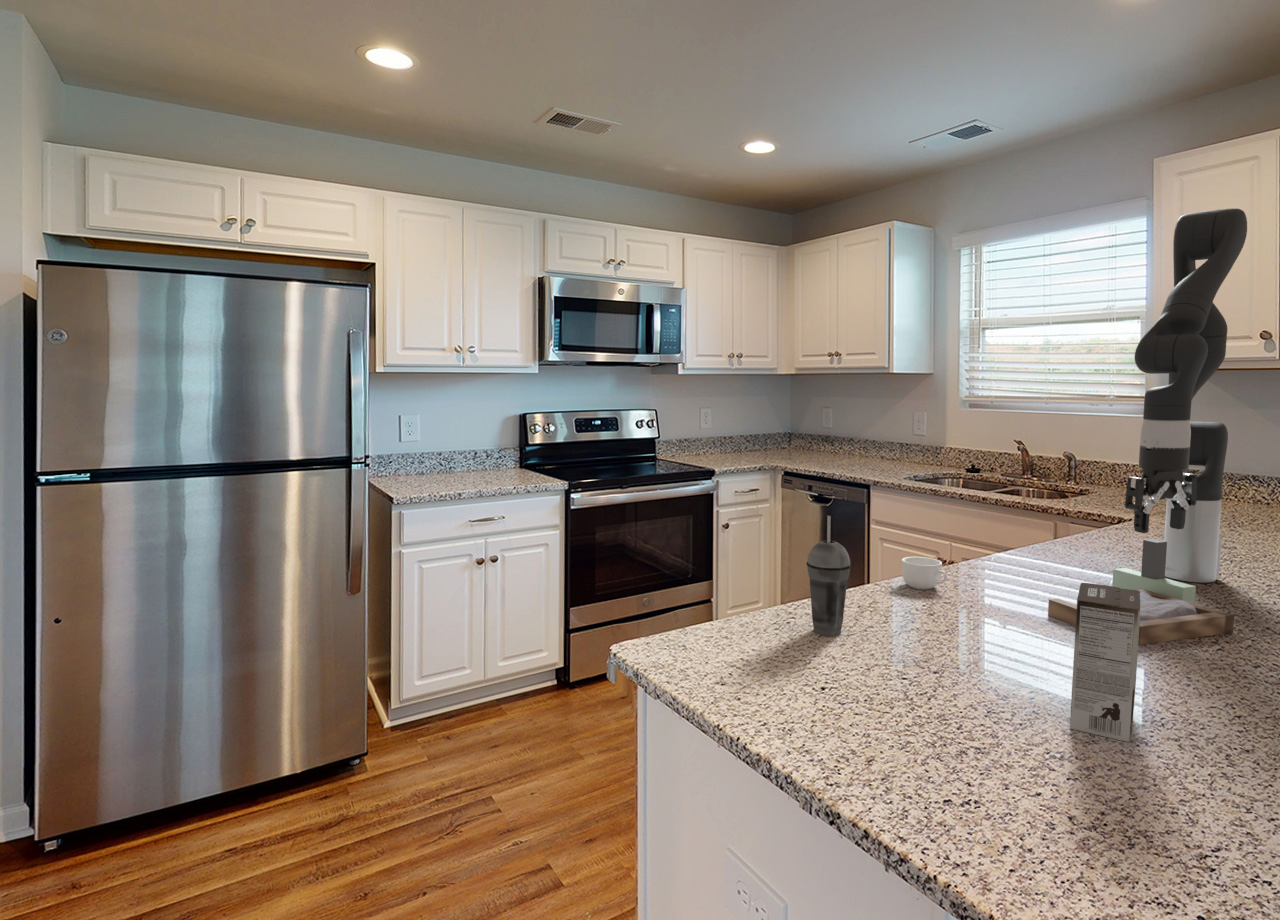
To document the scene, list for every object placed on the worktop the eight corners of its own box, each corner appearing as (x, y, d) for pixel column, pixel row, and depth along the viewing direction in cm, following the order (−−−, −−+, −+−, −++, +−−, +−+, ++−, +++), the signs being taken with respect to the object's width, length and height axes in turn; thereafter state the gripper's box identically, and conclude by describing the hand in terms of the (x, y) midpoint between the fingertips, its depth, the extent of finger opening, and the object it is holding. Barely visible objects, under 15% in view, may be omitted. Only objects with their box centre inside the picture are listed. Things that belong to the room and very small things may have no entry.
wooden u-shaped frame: (1142, 604, 136) (1143, 589, 136) (1232, 632, 121) (1234, 614, 121) (1047, 615, 130) (1048, 599, 130) (1130, 646, 115) (1131, 627, 115)
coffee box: (1073, 702, 95) (1080, 581, 93) (1133, 714, 91) (1141, 588, 90) (1067, 729, 87) (1074, 598, 86) (1132, 744, 84) (1141, 607, 82)
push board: (1111, 593, 144) (1115, 534, 143) (1123, 592, 145) (1127, 533, 144) (1181, 614, 131) (1186, 549, 130) (1194, 613, 132) (1198, 548, 130)
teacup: (892, 584, 151) (893, 559, 151) (918, 579, 155) (919, 555, 154) (932, 596, 143) (933, 569, 142) (958, 591, 146) (959, 564, 146)
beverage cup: (850, 627, 125) (853, 512, 123) (848, 641, 118) (851, 519, 116) (807, 622, 127) (809, 510, 125) (802, 636, 120) (804, 517, 118)
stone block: (1162, 644, 121) (1204, 626, 124) (1159, 617, 121) (1201, 599, 124) (1097, 625, 133) (1137, 608, 136) (1094, 600, 132) (1134, 584, 135)
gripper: (1174, 440, 139) (1169, 523, 141) (1115, 444, 136) (1110, 529, 138) (1214, 444, 132) (1208, 531, 134) (1153, 447, 128) (1148, 537, 130)
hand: (1159, 530), depth 136 cm, fingers open, 8 cm apart
